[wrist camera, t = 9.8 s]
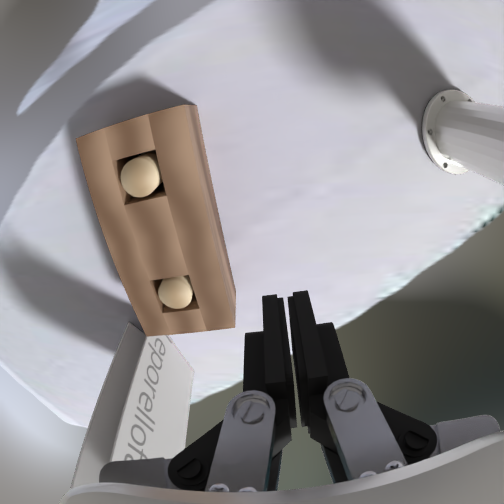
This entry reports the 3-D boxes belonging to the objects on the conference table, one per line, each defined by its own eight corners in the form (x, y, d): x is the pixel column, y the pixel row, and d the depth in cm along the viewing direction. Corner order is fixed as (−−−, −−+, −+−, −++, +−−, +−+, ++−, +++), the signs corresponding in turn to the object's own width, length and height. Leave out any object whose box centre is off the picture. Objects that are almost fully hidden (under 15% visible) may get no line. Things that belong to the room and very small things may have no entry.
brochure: (194, 370, 51) (178, 526, 25) (169, 375, 52) (144, 522, 25) (155, 314, 45) (104, 495, 18) (128, 322, 46) (70, 488, 19)
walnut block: (196, 105, 32) (184, 104, 24) (235, 291, 43) (235, 327, 36) (106, 130, 32) (75, 138, 25) (158, 301, 44) (146, 336, 37)
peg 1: (170, 144, 33) (152, 154, 26) (177, 175, 35) (161, 192, 28) (139, 152, 33) (116, 164, 27) (147, 182, 35) (126, 200, 28)
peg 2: (195, 248, 40) (186, 278, 33) (202, 273, 41) (195, 306, 35) (167, 252, 40) (153, 283, 33) (175, 277, 42) (164, 310, 35)
